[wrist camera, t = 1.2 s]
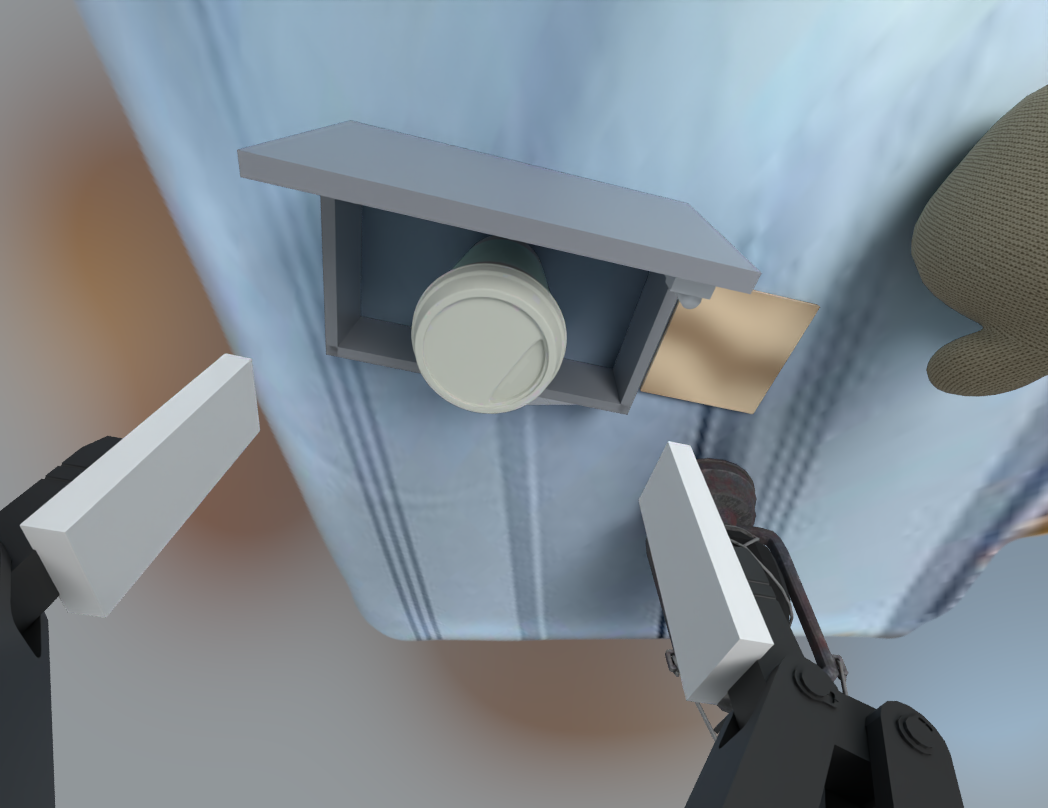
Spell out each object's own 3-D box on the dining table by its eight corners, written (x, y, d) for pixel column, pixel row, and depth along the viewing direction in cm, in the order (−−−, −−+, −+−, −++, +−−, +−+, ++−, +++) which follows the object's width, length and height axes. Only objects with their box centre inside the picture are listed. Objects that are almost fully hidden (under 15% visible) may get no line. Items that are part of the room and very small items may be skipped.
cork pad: (688, 275, 34) (690, 277, 33) (817, 304, 35) (820, 307, 34) (639, 388, 39) (640, 390, 39) (751, 411, 40) (753, 414, 40)
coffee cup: (475, 342, 38) (450, 438, 28) (423, 241, 33) (371, 313, 23) (577, 306, 35) (589, 396, 26) (536, 193, 31) (531, 249, 21)
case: (350, 120, 29) (237, 149, 18) (688, 203, 31) (761, 272, 20) (350, 329, 37) (272, 432, 27) (616, 384, 39) (642, 500, 29)
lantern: (628, 532, 50) (706, 974, 26) (639, 457, 44) (756, 944, 20) (748, 534, 49) (945, 988, 25) (776, 458, 43) (1073, 961, 19)
